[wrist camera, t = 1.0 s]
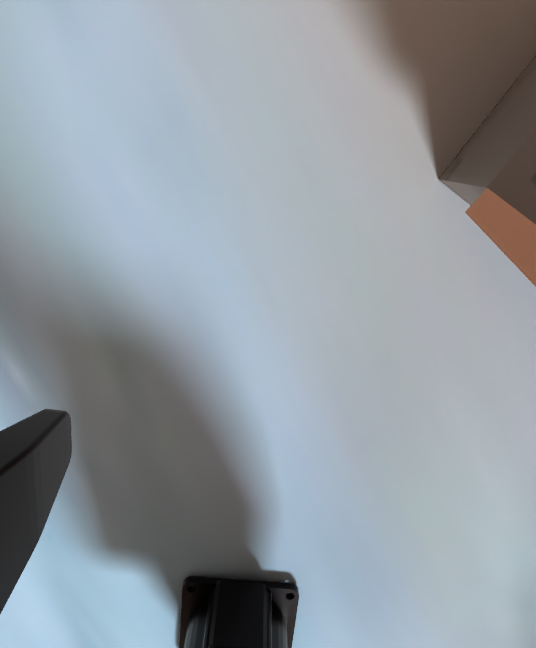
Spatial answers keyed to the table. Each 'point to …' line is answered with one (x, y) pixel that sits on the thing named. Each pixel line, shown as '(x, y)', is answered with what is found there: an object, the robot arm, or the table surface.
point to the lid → (507, 230)
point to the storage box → (502, 151)
